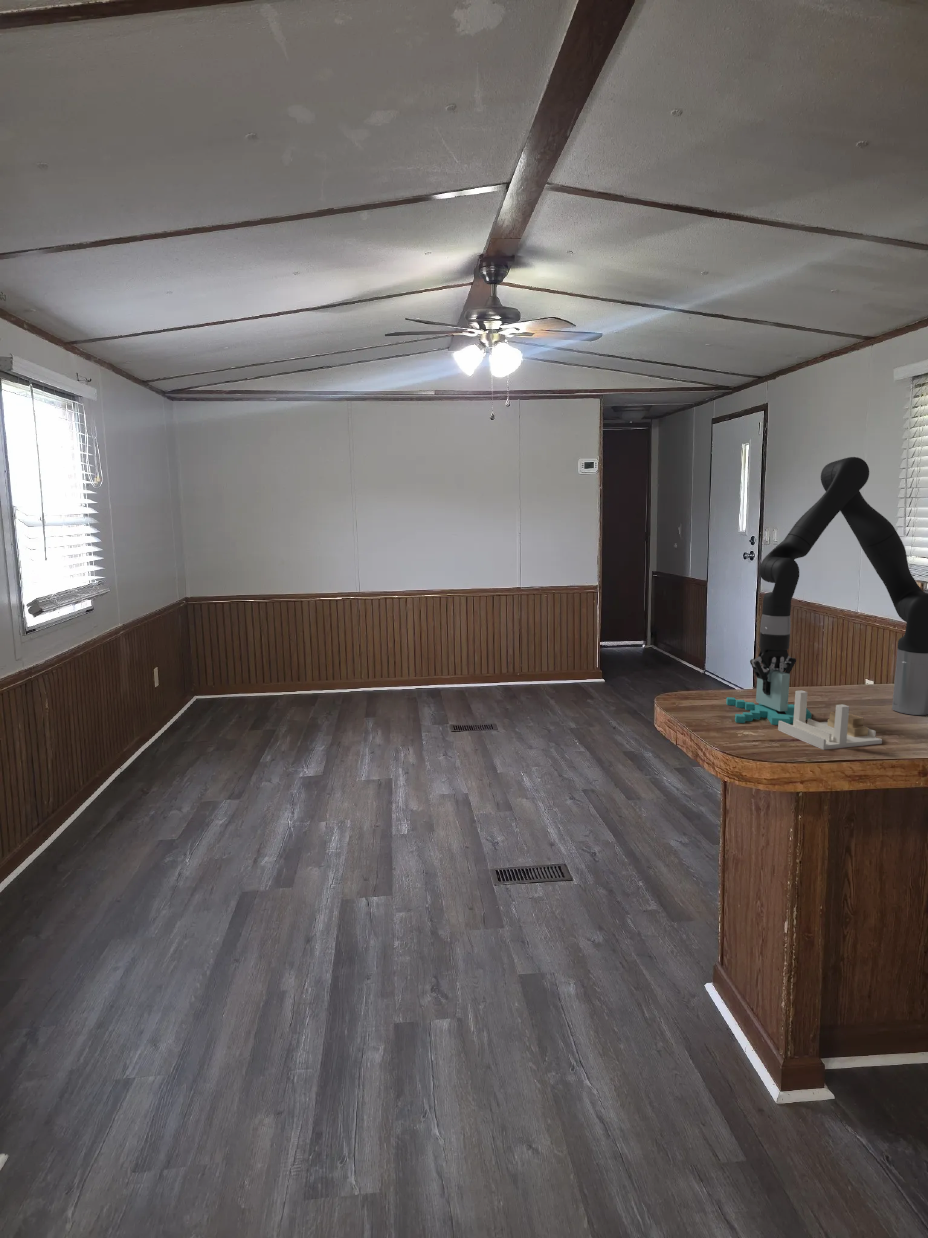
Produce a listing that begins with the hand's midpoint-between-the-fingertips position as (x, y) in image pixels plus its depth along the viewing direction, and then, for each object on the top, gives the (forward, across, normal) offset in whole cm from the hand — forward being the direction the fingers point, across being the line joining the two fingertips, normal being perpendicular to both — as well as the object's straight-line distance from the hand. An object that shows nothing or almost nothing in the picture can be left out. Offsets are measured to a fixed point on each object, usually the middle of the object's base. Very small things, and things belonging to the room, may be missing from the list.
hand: (771, 693), depth 210 cm
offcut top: (+3, -6, +20) cm, 22 cm away
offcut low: (+5, -6, +21) cm, 23 cm away
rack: (+6, -1, +21) cm, 22 cm away
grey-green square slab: (+3, 0, 0) cm, 3 cm away
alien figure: (+7, 0, 0) cm, 7 cm away
